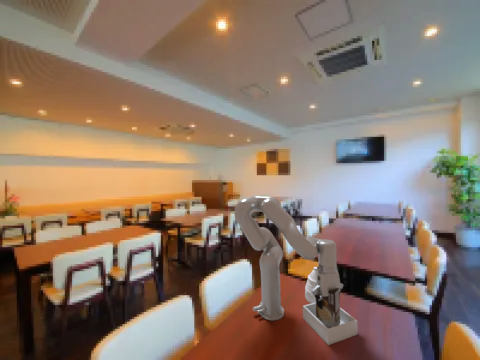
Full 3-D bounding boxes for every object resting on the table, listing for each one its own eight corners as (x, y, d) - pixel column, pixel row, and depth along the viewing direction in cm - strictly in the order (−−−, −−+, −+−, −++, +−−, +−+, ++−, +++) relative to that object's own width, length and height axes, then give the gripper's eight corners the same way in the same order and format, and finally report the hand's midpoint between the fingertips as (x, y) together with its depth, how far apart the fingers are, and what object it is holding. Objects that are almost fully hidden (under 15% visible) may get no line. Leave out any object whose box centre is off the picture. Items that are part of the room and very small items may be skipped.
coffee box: (341, 321, 91) (340, 287, 90) (336, 330, 86) (335, 293, 86) (320, 312, 97) (320, 280, 97) (315, 319, 93) (314, 285, 92)
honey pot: (328, 308, 103) (327, 274, 103) (302, 301, 110) (301, 268, 110) (331, 295, 114) (330, 264, 114) (308, 289, 121) (307, 259, 121)
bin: (328, 345, 81) (328, 330, 81) (303, 318, 97) (302, 305, 97) (357, 334, 86) (357, 320, 86) (329, 310, 102) (328, 298, 102)
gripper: (317, 275, 85) (317, 315, 85) (349, 268, 90) (349, 305, 91) (306, 267, 92) (306, 304, 92) (336, 261, 97) (336, 296, 98)
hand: (327, 305), depth 92 cm, fingers closed on coffee box, 8 cm apart
